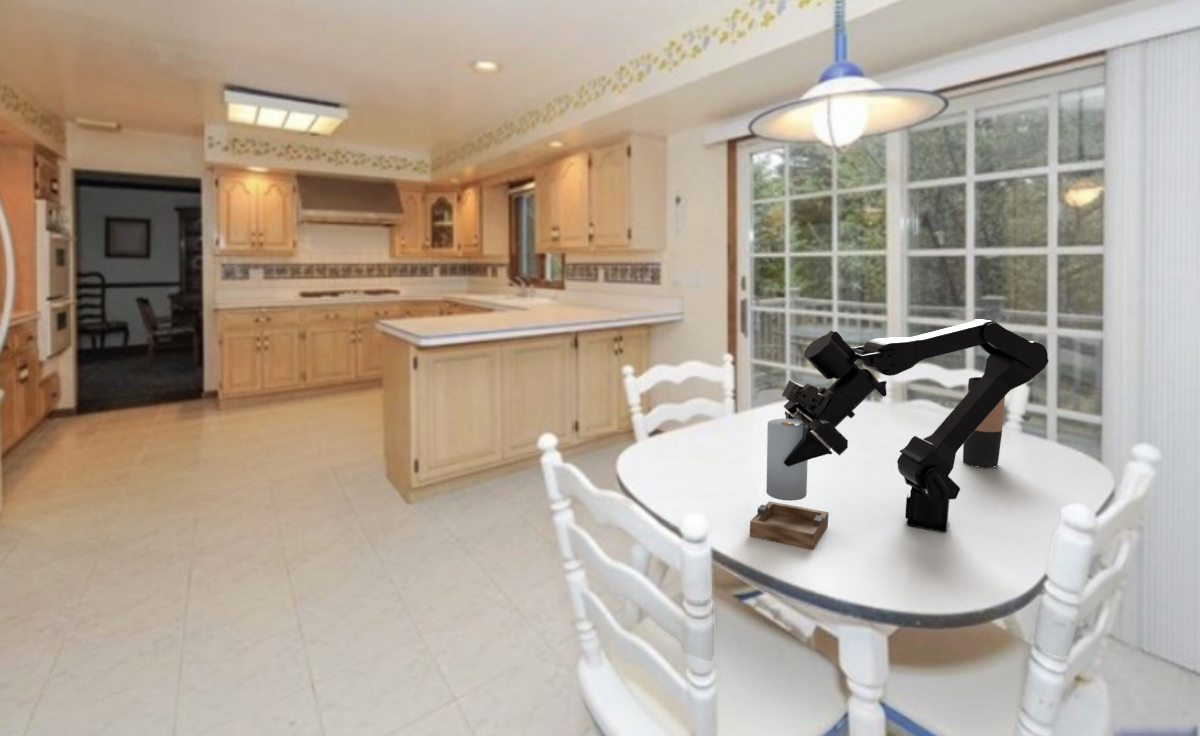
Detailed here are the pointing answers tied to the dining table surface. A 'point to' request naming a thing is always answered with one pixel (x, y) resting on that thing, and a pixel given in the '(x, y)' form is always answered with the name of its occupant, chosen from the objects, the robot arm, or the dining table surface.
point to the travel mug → (985, 437)
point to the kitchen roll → (779, 445)
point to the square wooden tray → (789, 524)
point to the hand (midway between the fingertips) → (779, 458)
